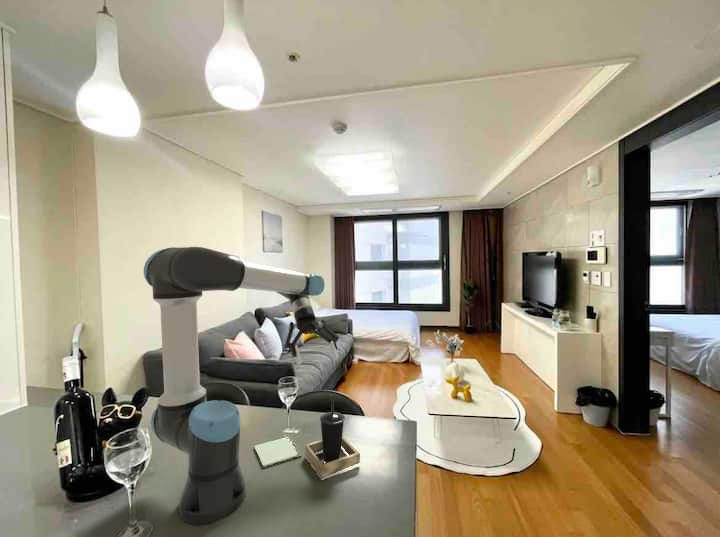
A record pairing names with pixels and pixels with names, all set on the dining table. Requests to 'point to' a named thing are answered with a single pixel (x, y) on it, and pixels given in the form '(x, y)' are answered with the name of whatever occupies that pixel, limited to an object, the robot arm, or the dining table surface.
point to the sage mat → (275, 451)
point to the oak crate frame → (334, 465)
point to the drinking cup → (332, 434)
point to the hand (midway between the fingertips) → (318, 361)
